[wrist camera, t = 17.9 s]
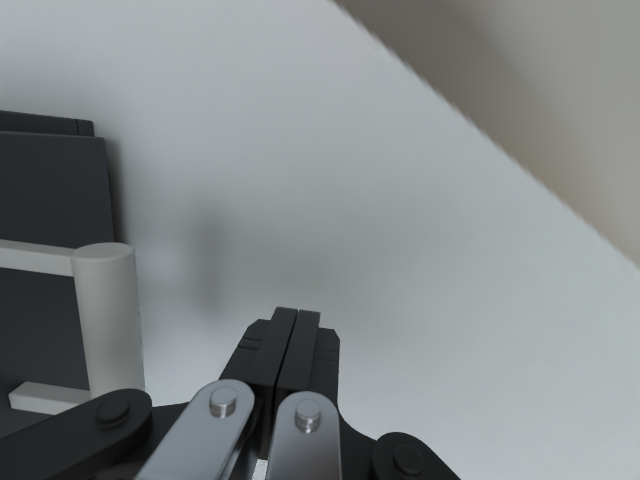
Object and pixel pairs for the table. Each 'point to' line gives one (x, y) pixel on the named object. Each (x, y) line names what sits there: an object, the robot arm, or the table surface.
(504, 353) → the table surface
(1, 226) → the cabinet drawer
